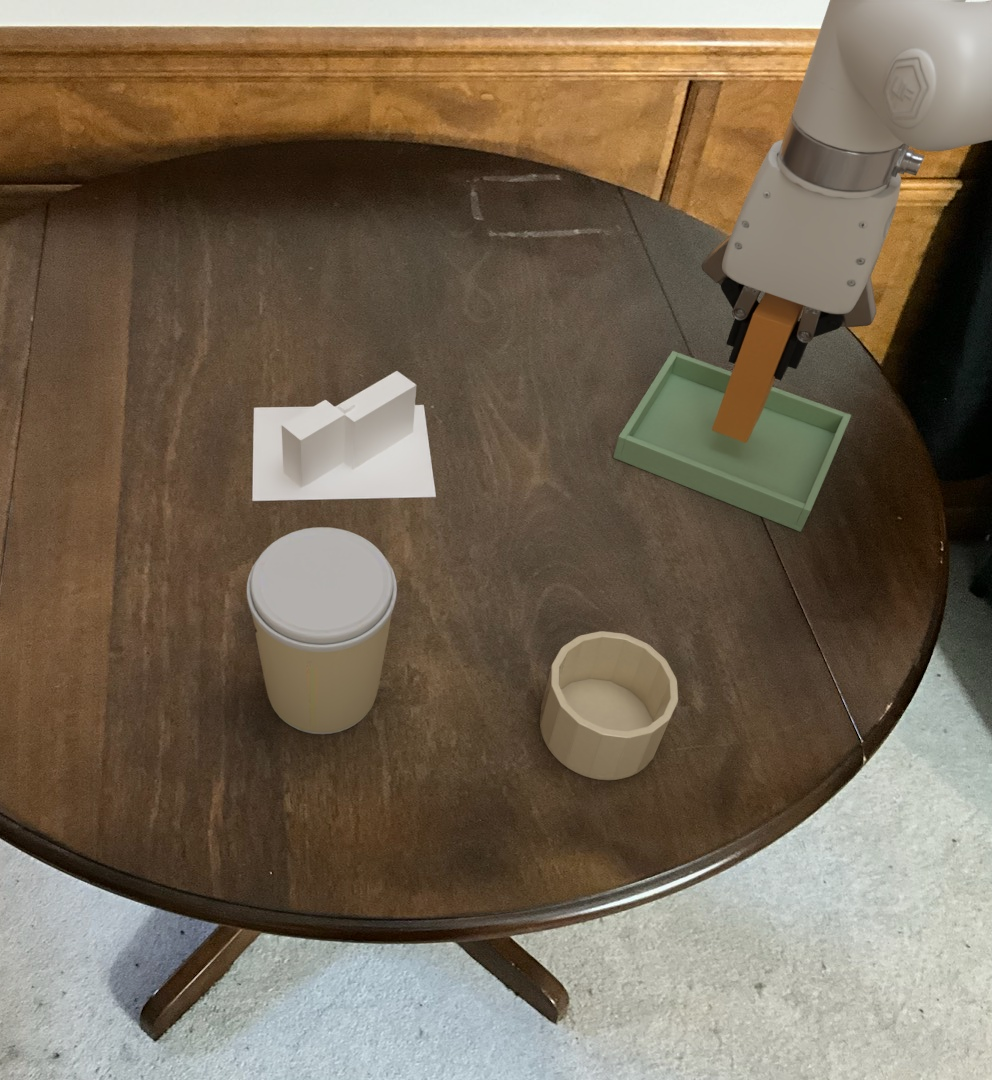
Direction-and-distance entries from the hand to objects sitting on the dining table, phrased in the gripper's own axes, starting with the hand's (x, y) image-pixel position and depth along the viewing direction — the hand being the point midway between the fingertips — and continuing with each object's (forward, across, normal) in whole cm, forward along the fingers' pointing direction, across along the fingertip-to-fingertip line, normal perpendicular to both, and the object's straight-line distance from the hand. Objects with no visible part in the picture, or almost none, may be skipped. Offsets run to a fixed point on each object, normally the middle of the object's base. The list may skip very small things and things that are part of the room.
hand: (760, 360), depth 89 cm
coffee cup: (+10, +17, +39) cm, 44 cm away
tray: (+9, 0, 0) cm, 9 cm away
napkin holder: (+10, +28, +18) cm, 35 cm away
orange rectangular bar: (+7, 0, 0) cm, 7 cm away
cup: (+9, -1, +32) cm, 33 cm away
